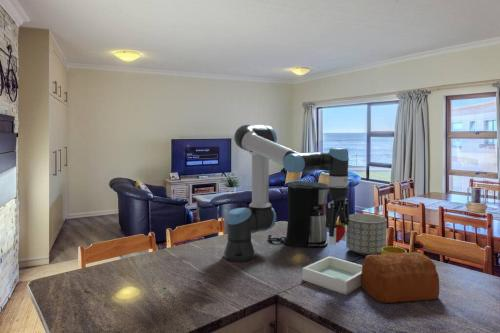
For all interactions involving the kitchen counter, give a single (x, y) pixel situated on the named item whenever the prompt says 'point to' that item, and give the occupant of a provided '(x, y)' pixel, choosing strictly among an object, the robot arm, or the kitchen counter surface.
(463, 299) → the kitchen counter surface
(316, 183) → the coffee maker
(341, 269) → the serving bin
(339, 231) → the strawberry
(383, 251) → the plant pot
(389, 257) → the bread
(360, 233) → the planter
